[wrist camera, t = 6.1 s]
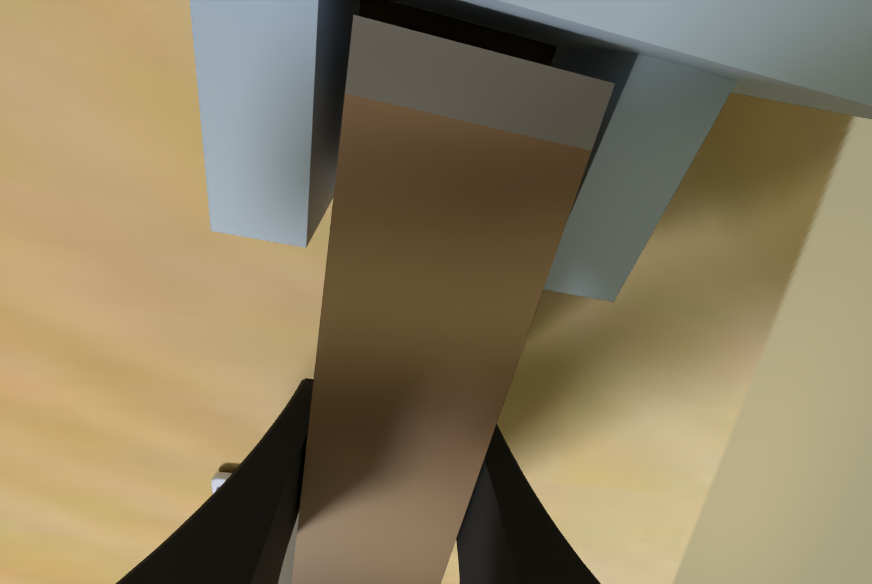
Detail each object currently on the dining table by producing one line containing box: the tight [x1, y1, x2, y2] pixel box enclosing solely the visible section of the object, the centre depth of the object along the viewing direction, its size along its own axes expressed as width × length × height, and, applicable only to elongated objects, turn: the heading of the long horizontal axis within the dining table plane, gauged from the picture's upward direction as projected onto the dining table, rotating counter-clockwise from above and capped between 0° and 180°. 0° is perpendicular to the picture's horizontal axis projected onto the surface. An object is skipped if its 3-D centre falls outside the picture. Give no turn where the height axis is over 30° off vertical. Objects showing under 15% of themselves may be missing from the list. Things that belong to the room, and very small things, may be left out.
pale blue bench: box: [190, 0, 872, 302], centre depth 9 cm, size 6×16×7 cm, turn 78°
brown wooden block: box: [292, 15, 615, 584], centre depth 11 cm, size 14×4×5 cm, turn 167°
